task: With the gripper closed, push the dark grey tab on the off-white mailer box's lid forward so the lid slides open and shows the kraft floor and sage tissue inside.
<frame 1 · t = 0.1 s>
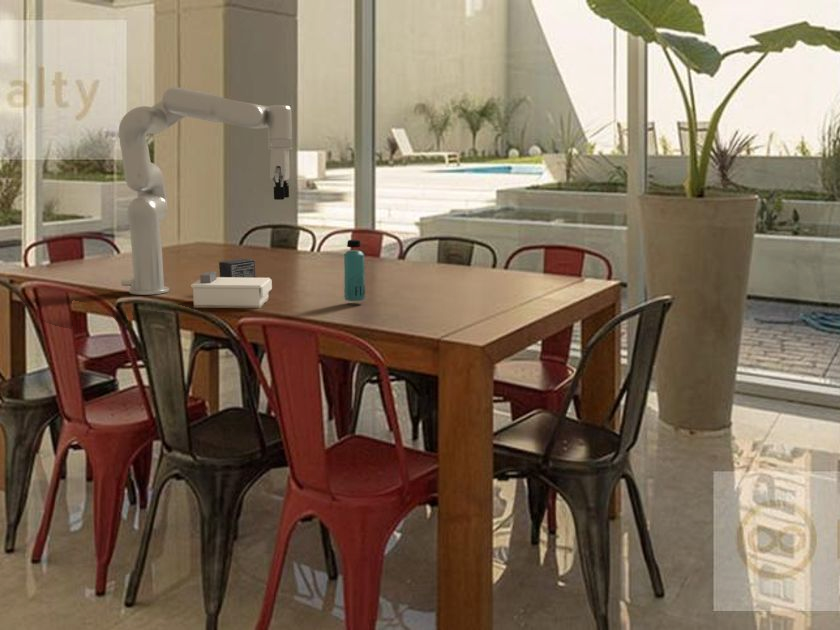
hand: (281, 198, 288), 31 cm above the table, tool pointing down, fingers open, 9 cm apart
small box: (238, 292, 298), on the table
beverage bottle: (354, 304, 276), on the table
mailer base: (232, 303, 276), on the table
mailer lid: (232, 282, 275), point 6 cm above the table, slide at 0.0 cm
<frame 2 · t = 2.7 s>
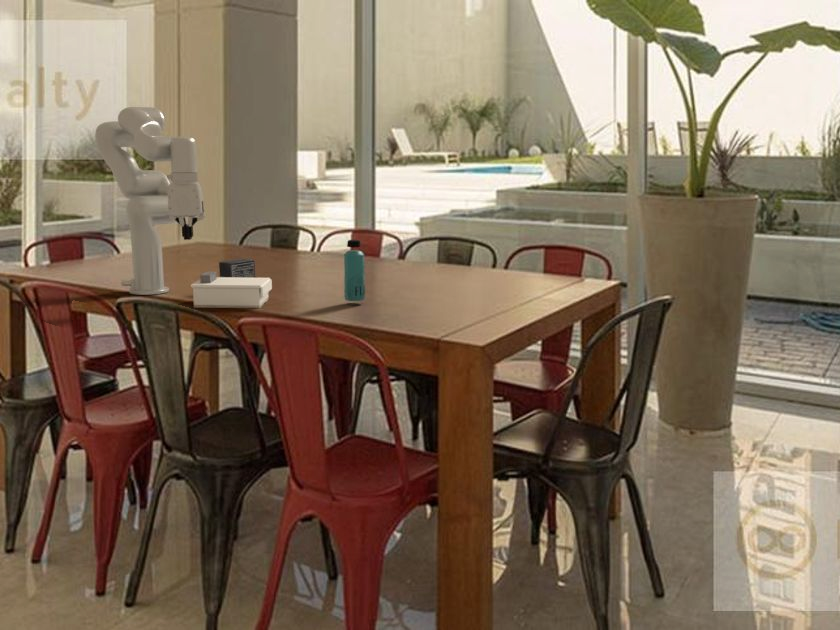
hand: (187, 239, 272), 20 cm above the table, tool pointing down, fingers closed
nothing on the table moved.
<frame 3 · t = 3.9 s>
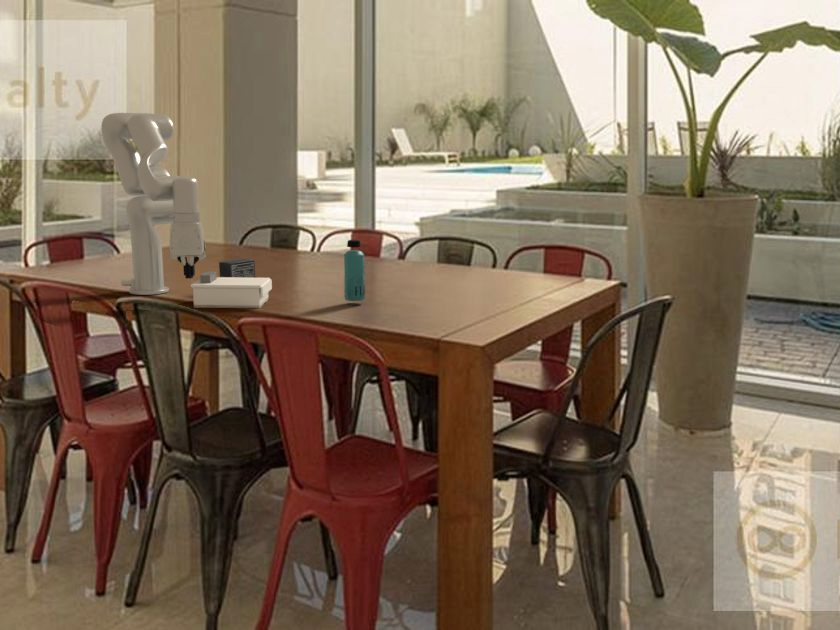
hand: (189, 277, 275), 8 cm above the table, tool pointing down, fingers closed
nothing on the table moved.
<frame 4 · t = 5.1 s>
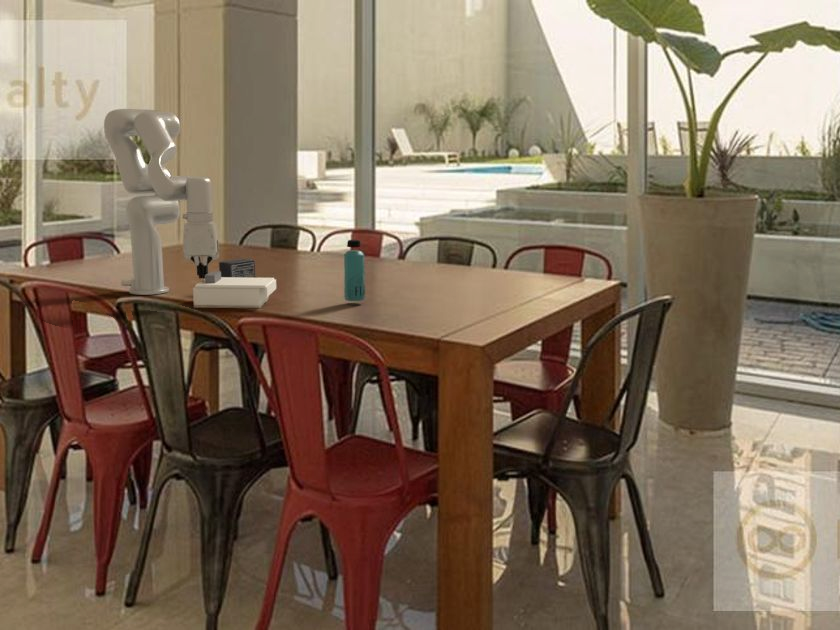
hand: (202, 277, 274), 8 cm above the table, tool pointing down, fingers closed
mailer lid: (236, 283, 275), point 6 cm above the table, slide at 1.4 cm, touching gripper
everything else where it was.
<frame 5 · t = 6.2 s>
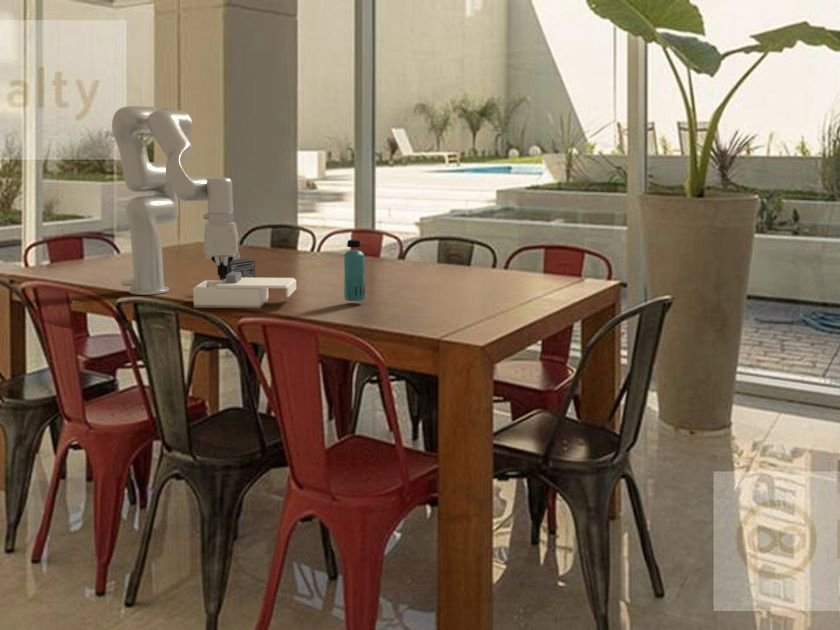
hand: (223, 277, 274), 8 cm above the table, tool pointing down, fingers closed
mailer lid: (257, 283, 274), point 6 cm above the table, slide at 7.8 cm, touching gripper
everything else where it was.
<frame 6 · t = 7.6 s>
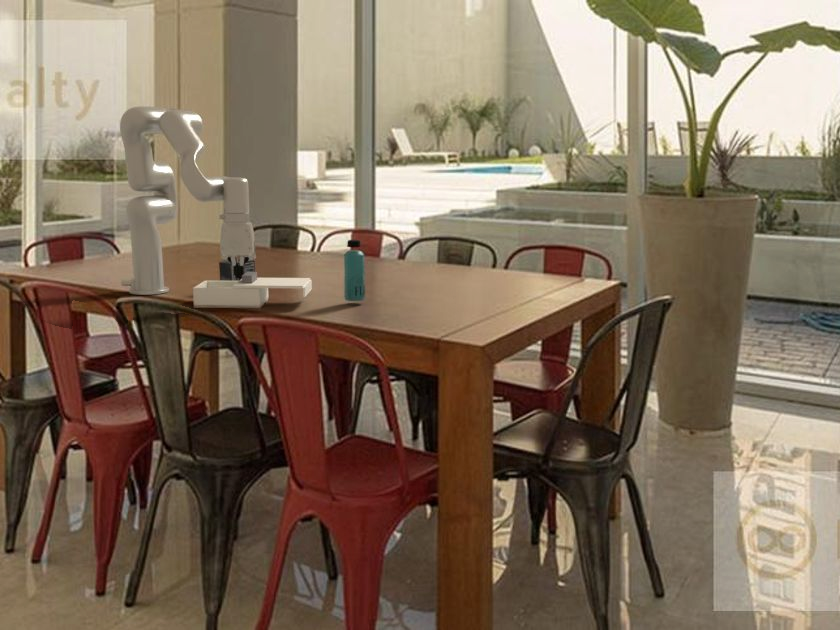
hand: (239, 278, 274), 8 cm above the table, tool pointing down, fingers closed
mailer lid: (273, 283, 274), point 6 cm above the table, slide at 12.7 cm, touching gripper
everything else where it was.
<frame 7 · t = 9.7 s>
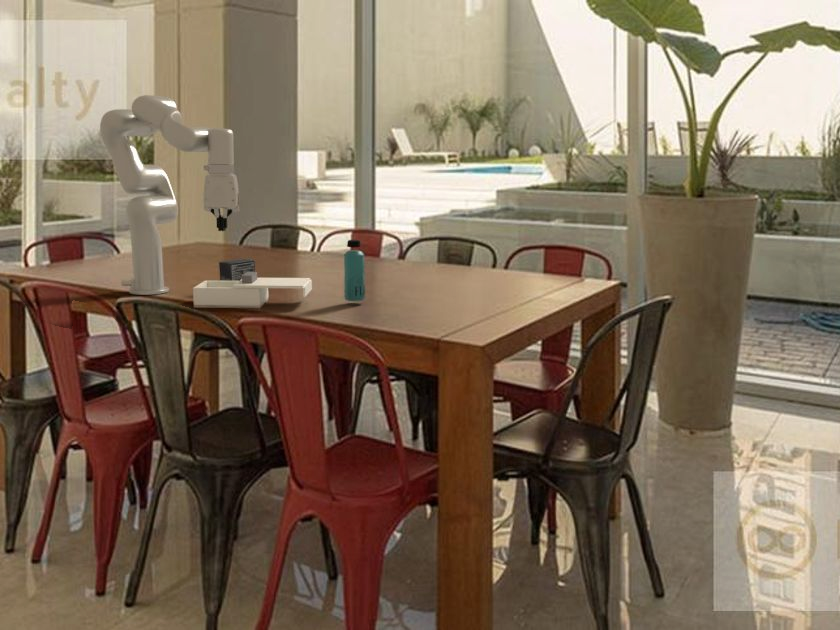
hand: (222, 230, 273), 23 cm above the table, tool pointing down, fingers closed
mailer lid: (273, 283, 274), point 6 cm above the table, slide at 12.7 cm
everything else where it was.
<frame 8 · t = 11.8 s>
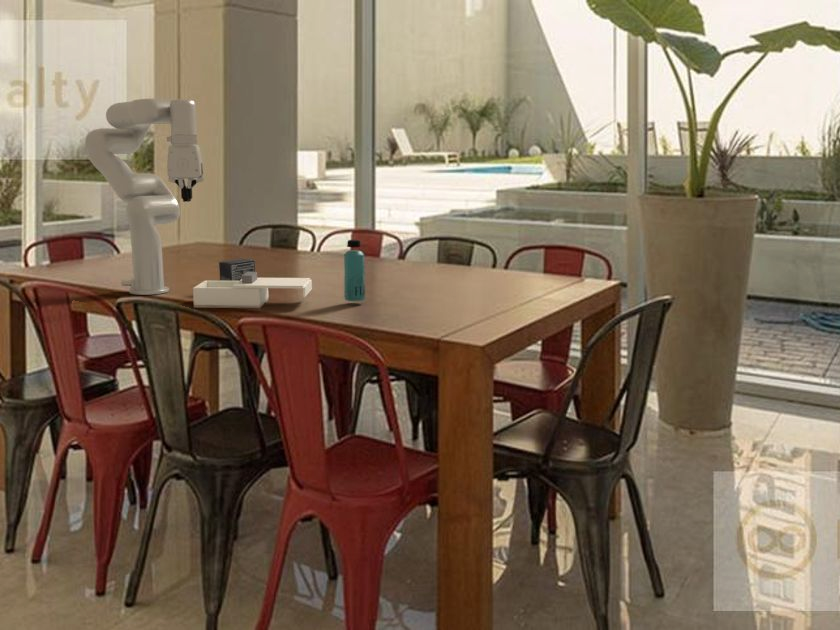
hand: (187, 201, 275), 31 cm above the table, tool pointing down, fingers closed
nothing on the table moved.
at the end: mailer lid slide at 12.7 cm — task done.
